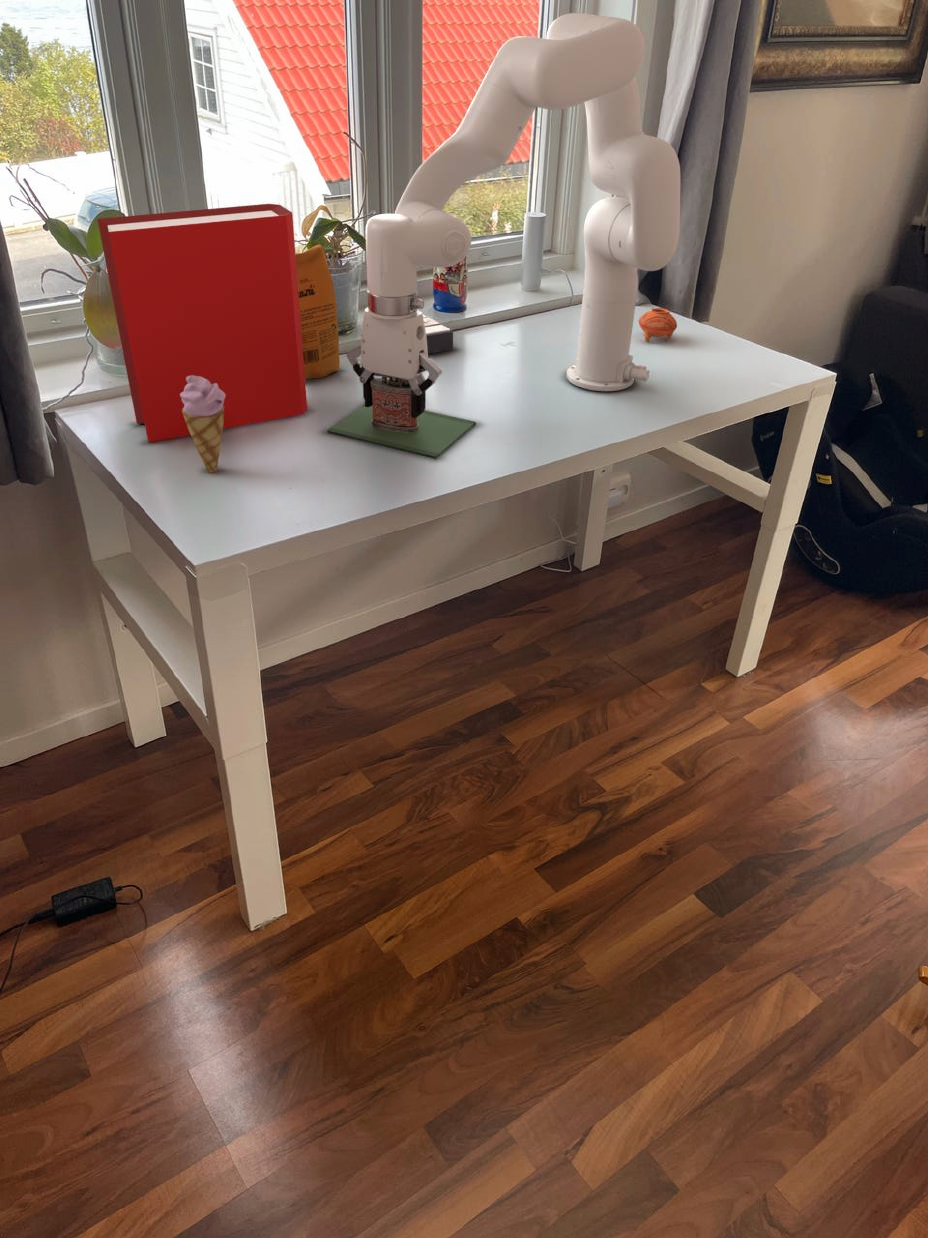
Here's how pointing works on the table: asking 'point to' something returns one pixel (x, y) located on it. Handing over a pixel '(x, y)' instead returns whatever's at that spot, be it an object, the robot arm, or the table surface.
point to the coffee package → (317, 314)
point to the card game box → (437, 336)
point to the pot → (657, 323)
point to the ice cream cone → (204, 418)
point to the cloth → (427, 441)
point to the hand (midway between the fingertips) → (394, 409)
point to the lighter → (392, 404)
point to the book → (208, 312)
